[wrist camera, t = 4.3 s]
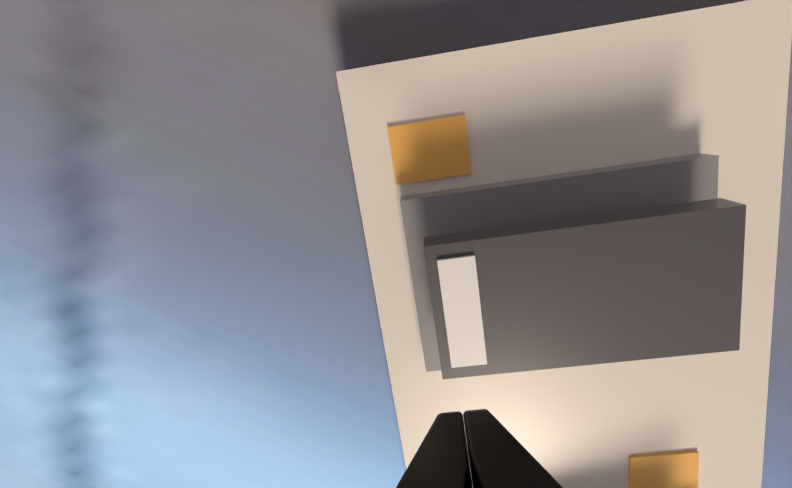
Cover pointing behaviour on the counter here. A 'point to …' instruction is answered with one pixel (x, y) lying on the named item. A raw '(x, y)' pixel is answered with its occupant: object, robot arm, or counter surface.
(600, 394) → the switch panel
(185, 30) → the counter surface
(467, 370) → the rocker
